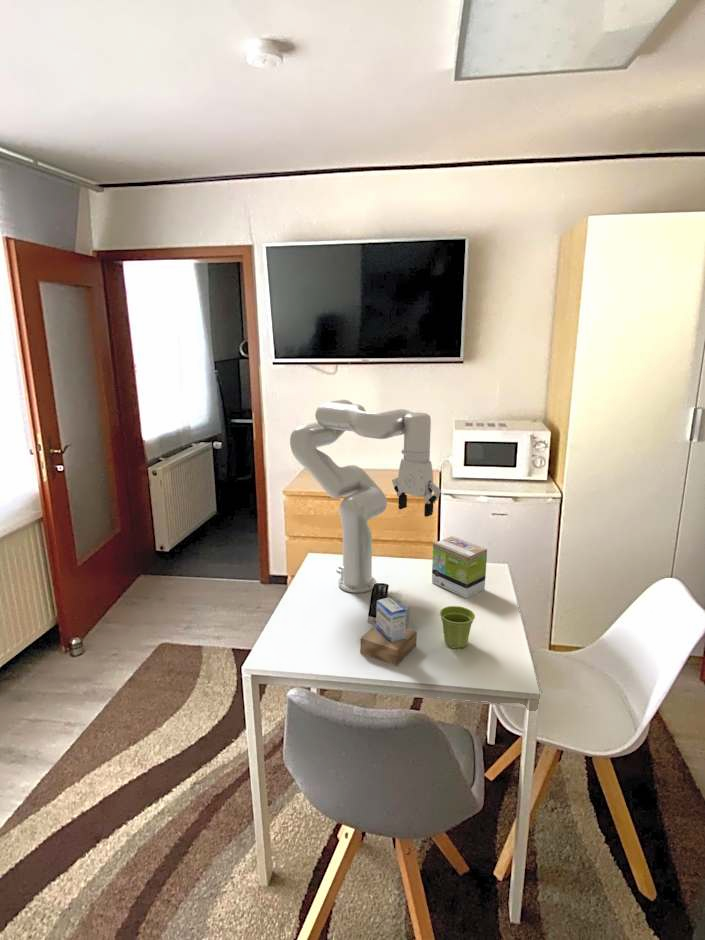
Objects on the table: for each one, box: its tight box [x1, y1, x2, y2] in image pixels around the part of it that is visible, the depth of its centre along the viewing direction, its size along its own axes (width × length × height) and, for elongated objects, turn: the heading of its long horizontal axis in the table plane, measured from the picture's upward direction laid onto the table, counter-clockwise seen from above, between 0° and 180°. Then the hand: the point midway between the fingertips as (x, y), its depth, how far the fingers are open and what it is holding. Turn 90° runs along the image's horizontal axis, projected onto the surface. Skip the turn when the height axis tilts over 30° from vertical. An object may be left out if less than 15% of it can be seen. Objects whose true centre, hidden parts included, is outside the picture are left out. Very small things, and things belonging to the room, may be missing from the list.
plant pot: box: [439, 605, 476, 649], centre depth 156 cm, size 9×9×9 cm
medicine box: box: [375, 597, 407, 642], centre depth 152 cm, size 8×4×9 cm, turn 29°
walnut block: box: [359, 624, 418, 667], centre depth 153 cm, size 11×11×5 cm
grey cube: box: [398, 603, 411, 626], centre depth 166 cm, size 5×5×5 cm
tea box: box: [431, 536, 488, 599], centre depth 188 cm, size 15×10×15 cm
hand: (415, 511), depth 170 cm, fingers open, 9 cm apart
